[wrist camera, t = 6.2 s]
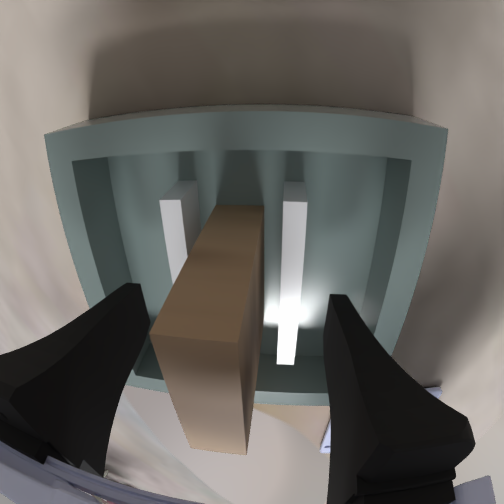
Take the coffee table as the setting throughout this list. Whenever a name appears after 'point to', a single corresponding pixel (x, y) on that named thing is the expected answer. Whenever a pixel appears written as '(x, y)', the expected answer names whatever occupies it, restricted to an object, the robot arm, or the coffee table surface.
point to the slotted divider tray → (275, 216)
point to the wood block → (216, 330)
